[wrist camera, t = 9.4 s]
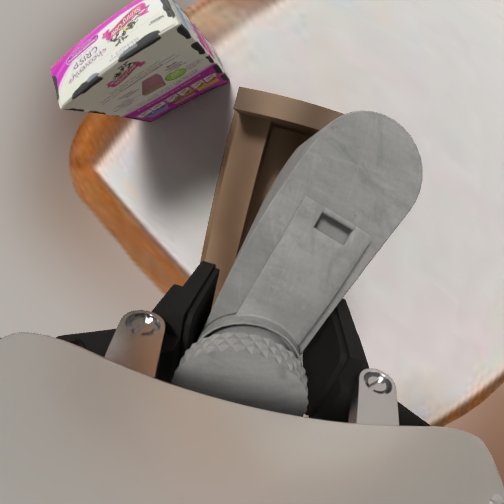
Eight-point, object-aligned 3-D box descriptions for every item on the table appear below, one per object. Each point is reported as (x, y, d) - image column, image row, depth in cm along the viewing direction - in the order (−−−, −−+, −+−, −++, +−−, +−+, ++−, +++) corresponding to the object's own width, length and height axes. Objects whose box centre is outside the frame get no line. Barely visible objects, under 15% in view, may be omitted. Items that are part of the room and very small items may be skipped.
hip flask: (260, 304, 28) (221, 501, 9) (222, 287, 28) (138, 472, 9) (334, 152, 23) (493, 153, 4) (291, 132, 22) (316, 36, 4)
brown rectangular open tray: (198, 282, 37) (174, 318, 28) (241, 94, 29) (225, 73, 20) (308, 312, 37) (313, 356, 28) (368, 130, 28) (396, 122, 20)
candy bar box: (215, 49, 27) (162, -19, 12) (231, 81, 28) (183, 23, 13) (136, 92, 30) (47, 67, 14) (149, 124, 31) (58, 112, 15)
